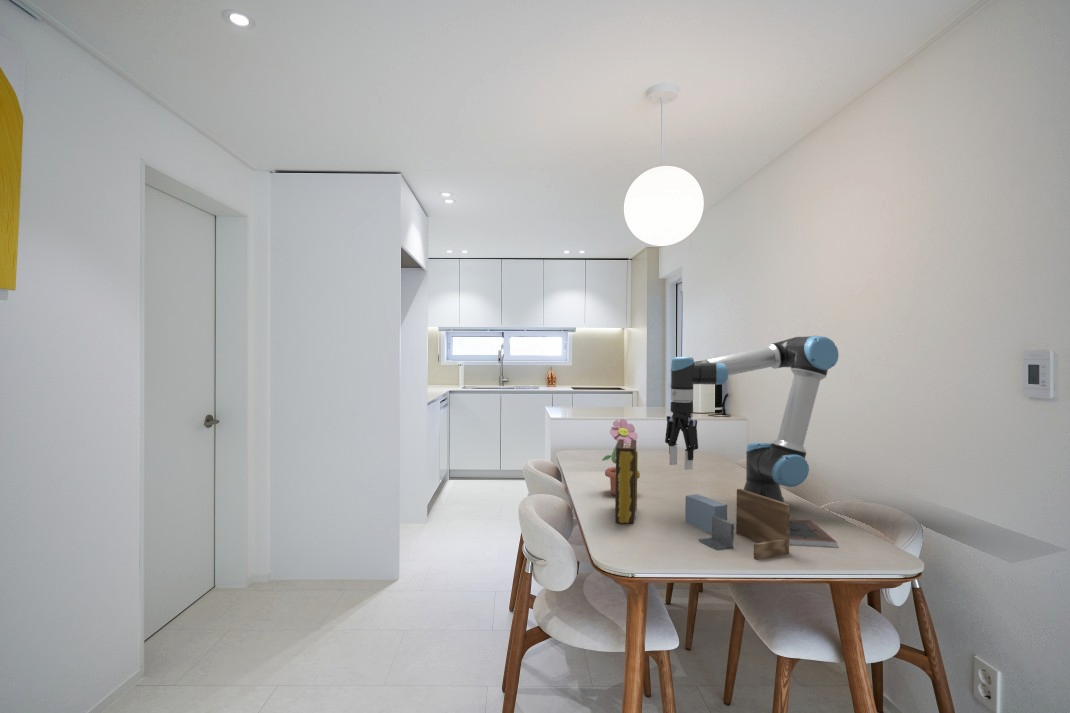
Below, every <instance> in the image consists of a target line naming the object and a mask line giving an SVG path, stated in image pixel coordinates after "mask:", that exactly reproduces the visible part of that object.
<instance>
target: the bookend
mask: <svg viewBox="0 0 1070 713" xmlns="http://www.w3.org/2000/svg"><path fill="white" fill-rule="evenodd" d="M734 524H735V523H733V522H731V521H729V520H727V521H726V520H723V519H721V518H719V517H716V516H712V534H711V537H706V538H699V539H698V542H700V543H702V544H704V545H706V546H708V547H710V548H712V549H714V550H716V551H720V550H726V549H727V550H728V549H733V548H734V534H735V533H734V532H735V530H734V528H735V527H734V526H735V525H734Z"/></svg>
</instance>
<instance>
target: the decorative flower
mask: <svg viewBox="0 0 1070 713" xmlns="http://www.w3.org/2000/svg"><path fill="white" fill-rule="evenodd" d="M612 425H613V426H611V428H610V430H609V434H610V435H611V437H612V438H613V439H614V440H615V441H616V443H615V446H614V448H613V451H612V453H611V454H609V455H605V456H604V457H603V458H602V460H601V461H608V460H609V459H610V460H611V462H612V463H613V464H615V465H616V446H617V443H618V440H619V439H623V440H624V445H631V440H636V441H637V439H638V435H639V434H638V433H637V432H636V428H635V426H634V424H632V423H628V420H627V419H625V418H620V419H615V420H614V421H613V422H612ZM615 471H616V466H612V467H608V468H606V469H605V471H604V475H605V477H607V478H609V484H610V492H611V494H612V495H614V496H616V476H615ZM640 477H641V473H640V472H639V478H640Z"/></svg>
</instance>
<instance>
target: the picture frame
mask: <svg viewBox="0 0 1070 713" xmlns="http://www.w3.org/2000/svg"><path fill="white" fill-rule="evenodd" d="M790 545H791V546H806V545H818V546H817V547H822V546H837V547H838V542H837V541H836V539H834V538H833V537H831V536H830V535H829V534H828V533H827V532H826V531H824V530H823V529H822V528H821V527H820V526H819V525H817V523H815V522H814V521H813V520H811V519H801V518H797V519H796V518H790V524H789V546H790Z"/></svg>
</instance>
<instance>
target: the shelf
mask: <svg viewBox="0 0 1070 713" xmlns="http://www.w3.org/2000/svg"><path fill="white" fill-rule="evenodd" d="M790 507H791V504H789V503H786V502H785V501H784V502H780V501H777V500H774V499H771V498H768V497H765V496H762V495H758V494H755V493H752V492H749V491H746V490H744V488H743V489H742V488H737V489H736V515H735V516H736V519H735V520H736V521H735V522H736V523H735V524H736V525H735V534H737V535H739V536H742V537H744V538H746V539H748V540H751V541H753V542H755V543H753V559H755V560H762V559H765V558H767V559H768V558H771V557H777V556H782V555H788V554H790V544H789V524H790V519H791V516H790V512H791V511H790V510H791V508H790Z"/></svg>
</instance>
